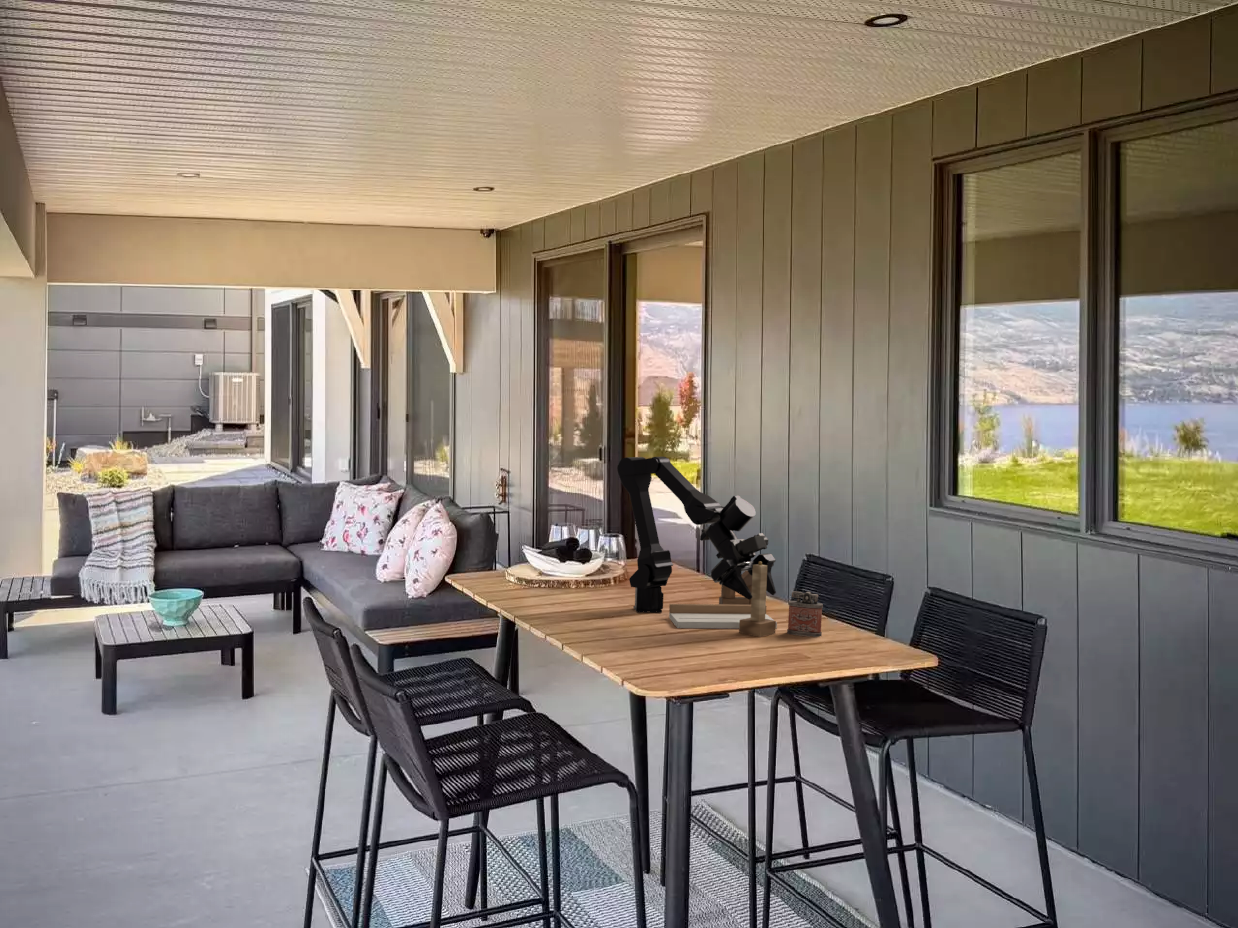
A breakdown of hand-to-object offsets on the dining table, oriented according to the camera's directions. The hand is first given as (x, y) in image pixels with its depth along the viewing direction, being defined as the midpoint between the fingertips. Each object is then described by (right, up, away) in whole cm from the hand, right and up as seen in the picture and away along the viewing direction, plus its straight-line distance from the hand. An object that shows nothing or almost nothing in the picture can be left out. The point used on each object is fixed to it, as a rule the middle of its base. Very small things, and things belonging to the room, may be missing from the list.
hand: (762, 596), depth 273 cm
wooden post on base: (-1, -9, +1) cm, 9 cm away
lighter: (+10, -9, +2) cm, 14 cm away
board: (-8, -8, +12) cm, 16 cm away
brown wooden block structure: (-2, -7, +27) cm, 28 cm away
